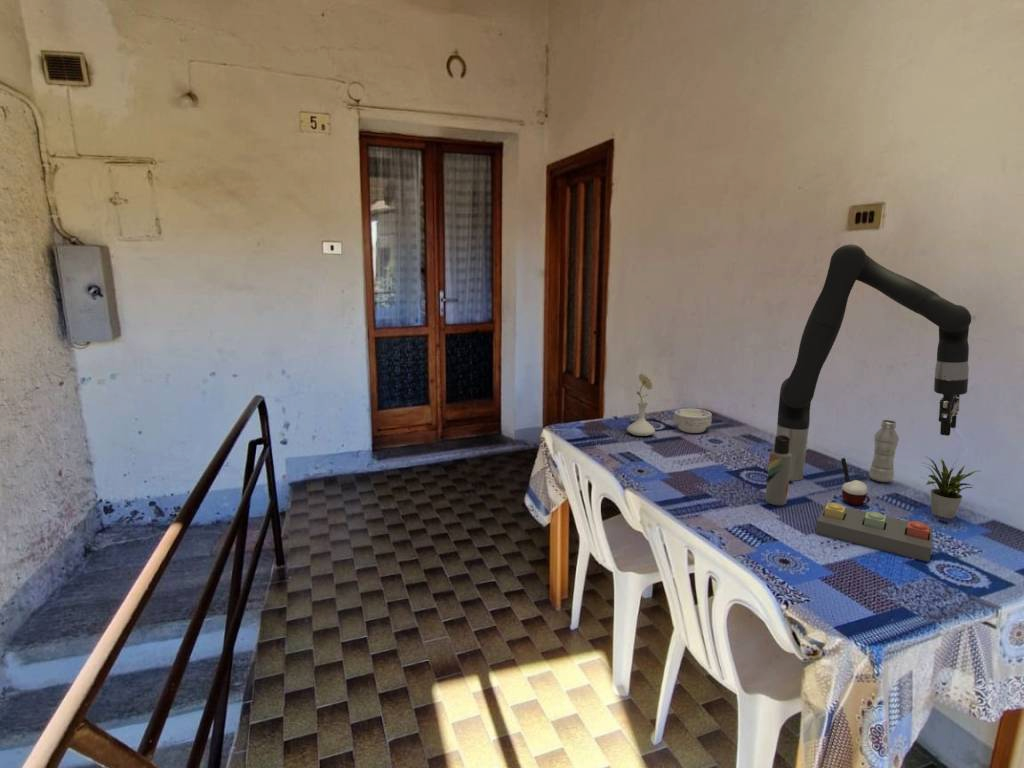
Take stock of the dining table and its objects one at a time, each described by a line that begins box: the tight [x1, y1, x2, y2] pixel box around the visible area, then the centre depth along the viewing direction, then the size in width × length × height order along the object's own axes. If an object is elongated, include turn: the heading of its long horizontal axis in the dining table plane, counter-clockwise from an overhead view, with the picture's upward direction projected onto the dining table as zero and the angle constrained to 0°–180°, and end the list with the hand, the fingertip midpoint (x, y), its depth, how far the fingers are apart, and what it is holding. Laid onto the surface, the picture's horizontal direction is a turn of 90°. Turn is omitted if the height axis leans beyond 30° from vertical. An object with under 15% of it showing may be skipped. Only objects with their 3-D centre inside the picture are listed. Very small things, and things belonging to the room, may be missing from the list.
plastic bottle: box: [868, 419, 900, 483], centre depth 181 cm, size 6×7×20 cm
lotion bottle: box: [765, 435, 792, 506], centre depth 164 cm, size 6×6×20 cm
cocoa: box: [840, 457, 871, 506], centre depth 166 cm, size 10×6×12 cm, turn 2°
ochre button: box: [824, 502, 847, 520], centre depth 150 cm, size 4×4×4 cm
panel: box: [815, 502, 934, 563], centre depth 145 cm, size 24×14×4 cm, turn 53°
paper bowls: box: [673, 408, 713, 434], centre depth 238 cm, size 15×15×8 cm
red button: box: [907, 520, 930, 540], centre depth 139 cm, size 4×4×4 cm
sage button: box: [864, 511, 887, 530], centre depth 145 cm, size 4×4×4 cm
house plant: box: [920, 455, 980, 519], centre depth 158 cm, size 14×14×16 cm
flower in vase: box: [626, 372, 656, 437], centre depth 231 cm, size 13×11×25 cm
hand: (948, 431), depth 164 cm, fingers open, 8 cm apart
